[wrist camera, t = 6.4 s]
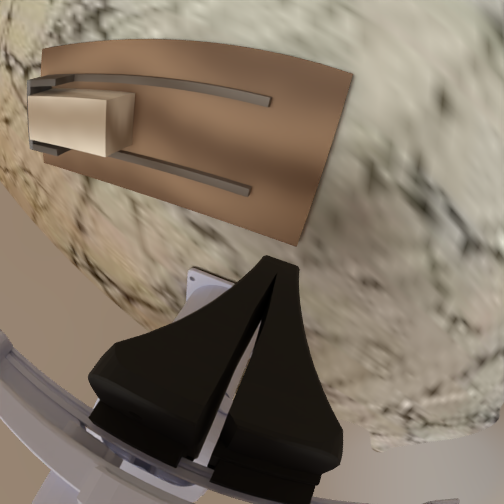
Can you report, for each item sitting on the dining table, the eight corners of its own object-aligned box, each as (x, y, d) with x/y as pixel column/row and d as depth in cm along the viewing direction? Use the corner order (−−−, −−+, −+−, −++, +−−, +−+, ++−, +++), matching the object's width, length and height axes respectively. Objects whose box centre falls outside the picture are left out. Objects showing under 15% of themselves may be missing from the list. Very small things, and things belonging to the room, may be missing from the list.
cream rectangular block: (132, 144, 20) (105, 157, 17) (54, 128, 21) (29, 139, 19) (135, 93, 17) (106, 100, 15) (53, 88, 18) (27, 96, 16)
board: (298, 240, 21) (289, 268, 19) (49, 159, 24) (26, 172, 22) (352, 74, 14) (353, 73, 11) (48, 47, 17) (21, 53, 14)
